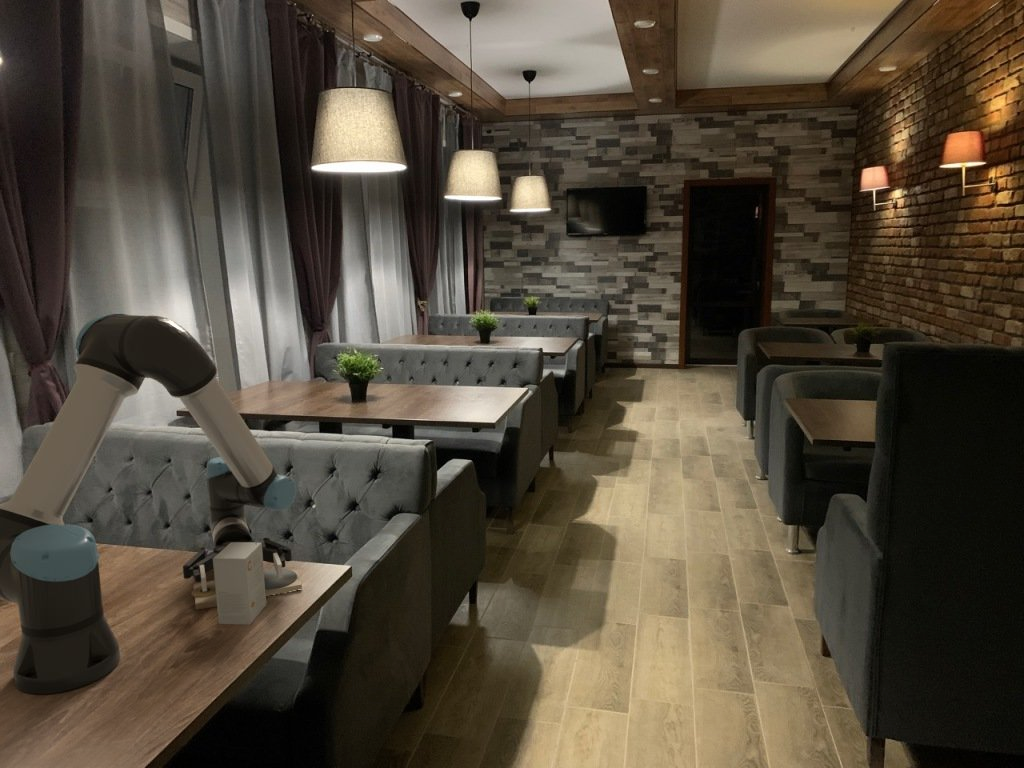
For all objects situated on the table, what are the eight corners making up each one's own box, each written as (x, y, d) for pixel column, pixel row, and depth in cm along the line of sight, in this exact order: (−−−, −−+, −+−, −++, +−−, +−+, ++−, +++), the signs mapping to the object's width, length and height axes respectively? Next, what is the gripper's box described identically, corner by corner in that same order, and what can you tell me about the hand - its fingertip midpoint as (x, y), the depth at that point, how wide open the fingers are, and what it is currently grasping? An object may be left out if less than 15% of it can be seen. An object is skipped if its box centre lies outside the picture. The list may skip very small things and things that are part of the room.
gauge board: (302, 590, 155) (301, 582, 154) (193, 610, 146) (192, 602, 146) (294, 571, 164) (293, 564, 163) (191, 589, 155) (190, 582, 155)
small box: (235, 604, 149) (230, 541, 146) (267, 605, 148) (262, 541, 146) (217, 624, 141) (211, 558, 138) (250, 625, 140) (245, 558, 138)
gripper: (293, 547, 168) (311, 584, 149) (170, 567, 158) (172, 609, 139) (291, 514, 167) (309, 547, 148) (167, 533, 156) (168, 571, 137)
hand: (243, 577), depth 143 cm, fingers open, 13 cm apart
